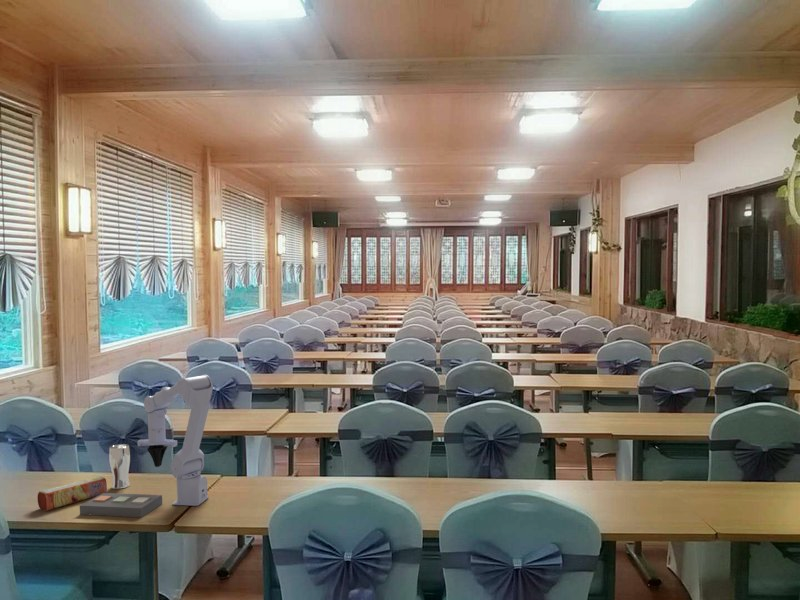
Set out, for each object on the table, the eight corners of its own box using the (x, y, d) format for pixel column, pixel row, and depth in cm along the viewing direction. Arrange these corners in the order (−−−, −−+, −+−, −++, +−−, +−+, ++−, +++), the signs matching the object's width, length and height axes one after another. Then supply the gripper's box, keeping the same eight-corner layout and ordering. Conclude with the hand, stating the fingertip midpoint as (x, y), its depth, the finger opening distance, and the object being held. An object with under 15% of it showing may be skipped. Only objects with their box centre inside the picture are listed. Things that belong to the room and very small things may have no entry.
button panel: (162, 503, 203) (162, 495, 203) (141, 517, 191) (141, 508, 191) (104, 501, 207) (103, 492, 207) (79, 514, 195) (79, 505, 195)
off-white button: (150, 506, 199) (149, 497, 199) (143, 511, 196) (142, 501, 195) (139, 506, 200) (138, 497, 200) (131, 510, 196) (131, 501, 196)
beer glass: (122, 490, 218) (121, 449, 218) (106, 489, 220) (104, 448, 219) (135, 483, 225) (133, 444, 225) (118, 483, 226) (117, 443, 226)
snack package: (99, 491, 218) (98, 472, 218) (108, 494, 215) (108, 475, 214) (36, 509, 201) (35, 489, 201) (45, 513, 197) (45, 493, 197)
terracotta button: (112, 504, 202) (111, 496, 202) (104, 509, 198) (104, 500, 198) (101, 504, 203) (101, 495, 202) (93, 508, 199) (93, 499, 198)
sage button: (131, 505, 201) (130, 496, 201) (123, 510, 197) (123, 501, 197) (120, 505, 201) (119, 496, 201) (112, 509, 197) (112, 500, 197)
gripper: (131, 430, 212) (133, 468, 212) (169, 431, 210) (170, 469, 210) (143, 426, 219) (144, 462, 219) (179, 426, 216) (181, 463, 217)
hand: (158, 465), depth 215 cm, fingers closed
